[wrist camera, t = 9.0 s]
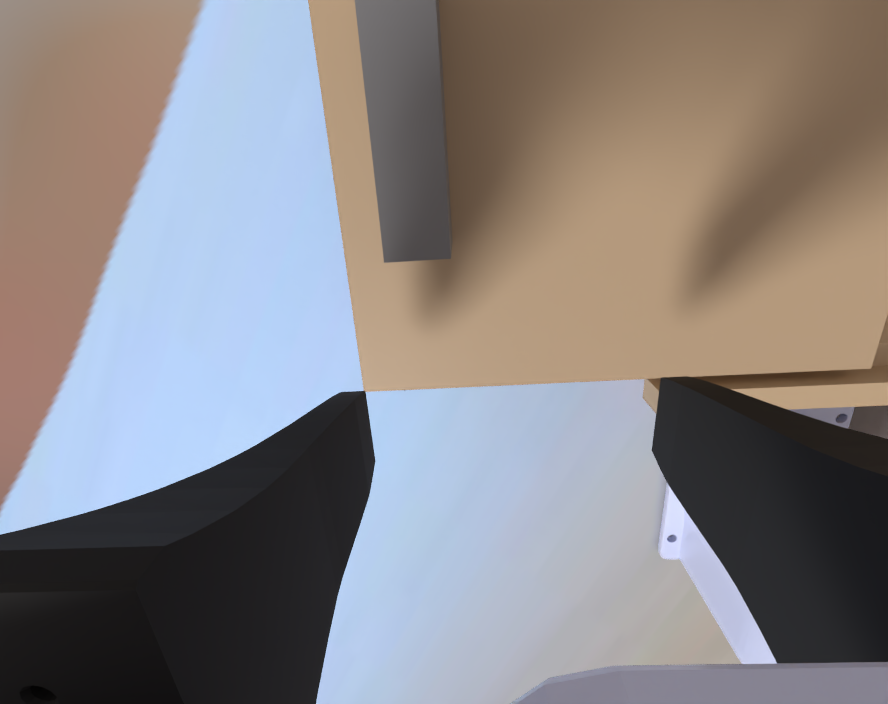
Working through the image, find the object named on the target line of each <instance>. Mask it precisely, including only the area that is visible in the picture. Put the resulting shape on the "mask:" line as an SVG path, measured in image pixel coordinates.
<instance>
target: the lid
mask: <svg viewBox="0 0 888 704" xmlns="http://www.w3.org/2000/svg"><path fill="white" fill-rule="evenodd" d="M308 3H309V10H310V17H311V24H312V31H313V38H314V45H315V52H316V59H317V66H318V73H319V80H320V87H321V94H322V101H323V108H324V115H325V121H326V128H327V135H328V142H329V149H330V156H331V163H332V170H333V177H334V184H335V191H336V198H337V205H338V212H339V219H340V226H341V233H342V240H343V247H344V254H345V261H346V268H347V275H348V282H349V289H350V296H351V303H352V310H353V317H354V324H355V331H356V338H357V345H358V352H359V359H360V366H361V373H362V380H363V387H364V391H365V392H370V391H392V390H414V389H436V388H458V387H480V386H501V385H523V384H545V383H567V382H589V381H611V380H633V379H655V378H661V377H683V376H688V377H698V376H720V375H742V374H764V373H786V372H808V371H829V370H851V369H871V367H872V364H873V361H874V357H875V354H876V351H877V348H878V344H879V341H880V338H881V334H882V331H883V328H884V325H885V321H886V318H887V315H888V0H308Z"/></svg>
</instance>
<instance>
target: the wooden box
mask: <svg viewBox="0 0 888 704" xmlns="http://www.w3.org/2000/svg"><path fill="white" fill-rule="evenodd" d="M693 378H697V379H701V380H704V381H708V382H711V383H714V384H717V385H720V386H723V387H726V388H728V389H731V390H734V391H737V392H740V393H742V394H745V395H748V396H751V397H753V398H756V399H759V400H762V401H765V402H767V403H770V404H773V405H776V406H779V407H781V408H784V409H787V410H789V409H813V408H837V407H861V406H885V405H888V315H887V318H886V321H885V325H884V328H883V331H882V334H881V338H880V341H879V344H878V348H877V351H876V354H875V357H874V361H873V364H872V367H871V369H851V370H829V371H808V372H786V373H764V374H742V375H720V376H698V377H693ZM660 380H661V378H655V379H645V382H644V391H643V399H644V400H645V401H646V402H647V403H648V405H649V406H650V407H651V408H652V409H653V410H654V412H655V413H657V404H658V396H659V388H660Z"/></svg>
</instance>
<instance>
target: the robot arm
mask: <svg viewBox="0 0 888 704" xmlns="http://www.w3.org/2000/svg"><path fill="white" fill-rule="evenodd" d="M854 408H855V407H837V408H813V409H789V410H787V409H784V408H781V407H779V406H776V405H773V404H770V403H767V402H765V401H762V400H759V399H756V398H753V397H751V396H748V395H745V394H742V393H740V392H737V391H734V390H731V389H728V388H726V387H723V386H720V385H717V384H714V383H711V382H708V381H704V380H701V379H697V378H693V377H688V376H683V377H661V380H660V388H659V396H658V404H657V413H656V421H655V429H654V438H653V446H652V452H653V454H654V456H655V458H656V460H657V463H658V465H659V467H660V469H661V471H662V473H663V475H664V477H665V479H666V481H667V486H666V493H665V500H664V507H663V515H662V522H661V529H660V536H659V543H658V552H659V553H660V555H661V557H662V558H664V559H680V560H681V562H682V564H683V565H684V567H685V569H686V570H687V572H688V574H689V575H690V577H691V579H692V581H693V582H694V584H695V586H696V587H697V589H698V591H699V592H700V594H701V596H702V598H703V599H704V601H705V603H706V604H707V606H708V608H709V609H710V611H711V613H712V615H713V616H714V618H715V620H716V621H717V623H718V625H719V626H720V628H721V630H722V632H723V633H724V635H725V637H726V638H727V640H728V642H729V644H730V645H731V647H732V649H733V650H734V652H735V654H736V655H737V657H738V658H739V660H740V661H741V663H742V664H705V665H633V666H610V667H604V668H599V669H594V670H588V671H583V672H578V673H573V674H567V675H562V676H557V677H551V678H548V679H547V680H545V681H544V682H542V683H541V684H539V685H538V686H536V687H535V688H533V689H531V690H530V691H528V692H527V693H525V694H524V695H522V696H521V697H519V698H518V699H516V700H515V701H513V702H512V703H510V704H888V439H885V438H881V437H877V436H873V435H869V434H866V433H862V432H858V431H854V430H851V429H848V428H849V425H850V421H851V418H852V415H853V411H854ZM839 414H840V416H839V417H838V418H836V417H837V416H838V415H839ZM374 465H375V456H374V449H373V442H372V435H371V428H370V421H369V414H368V407H367V400H366V393H365V391H356V392H341V393H338V394H336V395H335V396H333V397H331V398H329V399H328V400H326V401H325V402H323V403H322V404H320V405H319V406H317V407H316V408H314V409H313V410H311V411H310V412H308V413H307V414H305V415H304V416H302V417H301V418H299V419H298V420H296V421H295V422H293V423H292V424H290V425H289V426H287V427H285V428H284V429H282V430H280V431H279V432H277V433H275V434H274V435H272V436H270V437H269V438H267V439H265V440H264V441H262V442H260V443H259V444H257V445H255V446H253V447H252V448H250V449H248V450H246V451H244V452H242V453H240V454H239V455H237V456H235V457H233V458H230V459H228V460H226V461H224V462H222V463H220V464H218V465H216V466H214V467H212V468H210V469H207V470H205V471H203V472H200V473H198V474H195V475H193V476H190V477H188V478H185V479H183V480H180V481H178V482H176V483H173V484H171V485H168V486H166V487H163V488H161V489H158V490H155V491H152V492H150V493H147V494H144V495H141V496H138V497H135V498H132V499H129V500H126V501H123V502H120V503H117V504H114V505H110V506H107V507H104V508H101V509H98V510H94V511H91V512H87V513H84V514H81V515H77V516H73V517H69V518H65V519H61V520H58V521H54V522H50V523H46V524H42V525H38V526H34V527H31V528H27V529H23V530H19V531H15V532H10V533H6V534H2V535H0V704H316V699H317V693H318V688H319V683H320V678H321V673H322V668H323V663H324V658H325V653H326V647H327V642H328V637H329V633H330V628H331V624H332V619H333V614H334V610H335V605H336V600H337V596H338V592H339V589H340V585H341V581H342V578H343V574H344V571H345V568H346V565H347V562H348V559H349V556H350V553H351V550H352V547H353V544H354V541H355V538H356V535H357V532H358V529H359V526H360V523H361V520H362V516H363V513H364V510H365V507H366V504H367V501H368V497H369V494H370V488H371V483H372V477H373V471H374ZM670 535H672V536H670ZM668 536H670V537H668Z"/></svg>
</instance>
